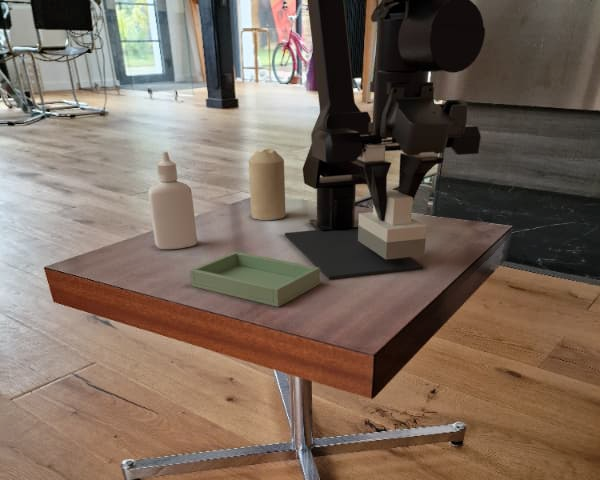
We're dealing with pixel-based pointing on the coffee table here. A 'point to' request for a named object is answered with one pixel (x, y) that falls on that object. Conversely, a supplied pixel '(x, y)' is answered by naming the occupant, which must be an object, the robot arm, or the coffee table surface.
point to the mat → (345, 254)
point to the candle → (267, 185)
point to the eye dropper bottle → (171, 209)
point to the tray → (256, 278)
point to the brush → (393, 229)
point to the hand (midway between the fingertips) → (391, 219)
